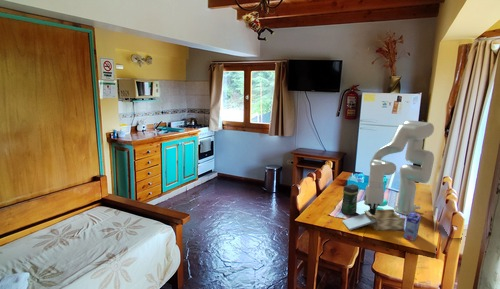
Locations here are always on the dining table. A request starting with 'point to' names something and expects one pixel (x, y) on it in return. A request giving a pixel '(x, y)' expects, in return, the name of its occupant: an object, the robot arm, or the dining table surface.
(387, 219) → the birch box
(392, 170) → the robot arm
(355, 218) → the cover plate
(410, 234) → the ink cartridge box
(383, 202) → the donuts
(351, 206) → the coffee jar
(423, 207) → the dining table surface
